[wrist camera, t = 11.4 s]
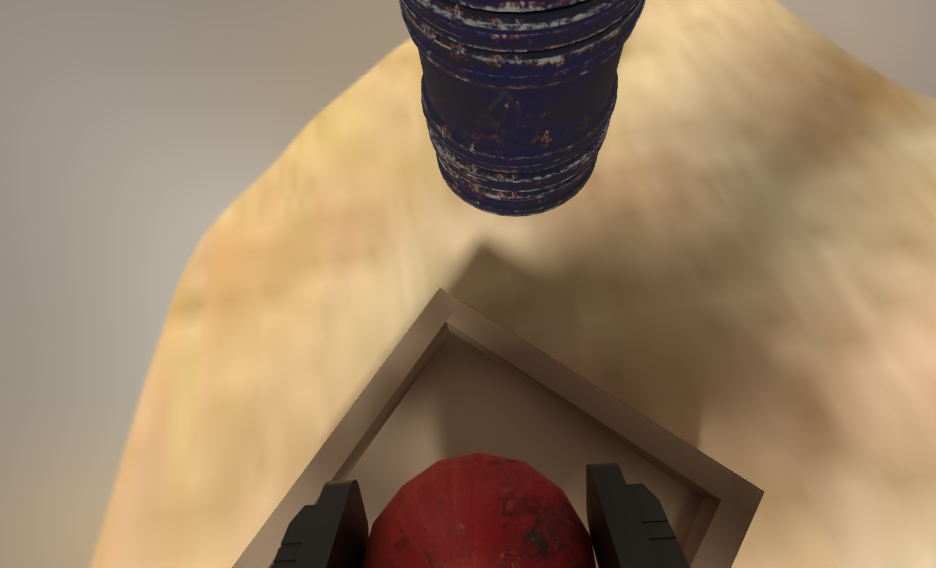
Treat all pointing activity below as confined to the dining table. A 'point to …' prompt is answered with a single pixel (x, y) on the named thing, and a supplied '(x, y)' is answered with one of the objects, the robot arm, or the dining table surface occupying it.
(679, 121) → the dining table surface
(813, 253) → the dining table surface
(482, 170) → the storage jar
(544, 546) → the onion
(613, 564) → the robot arm
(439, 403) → the wooden square tray
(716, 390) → the dining table surface
